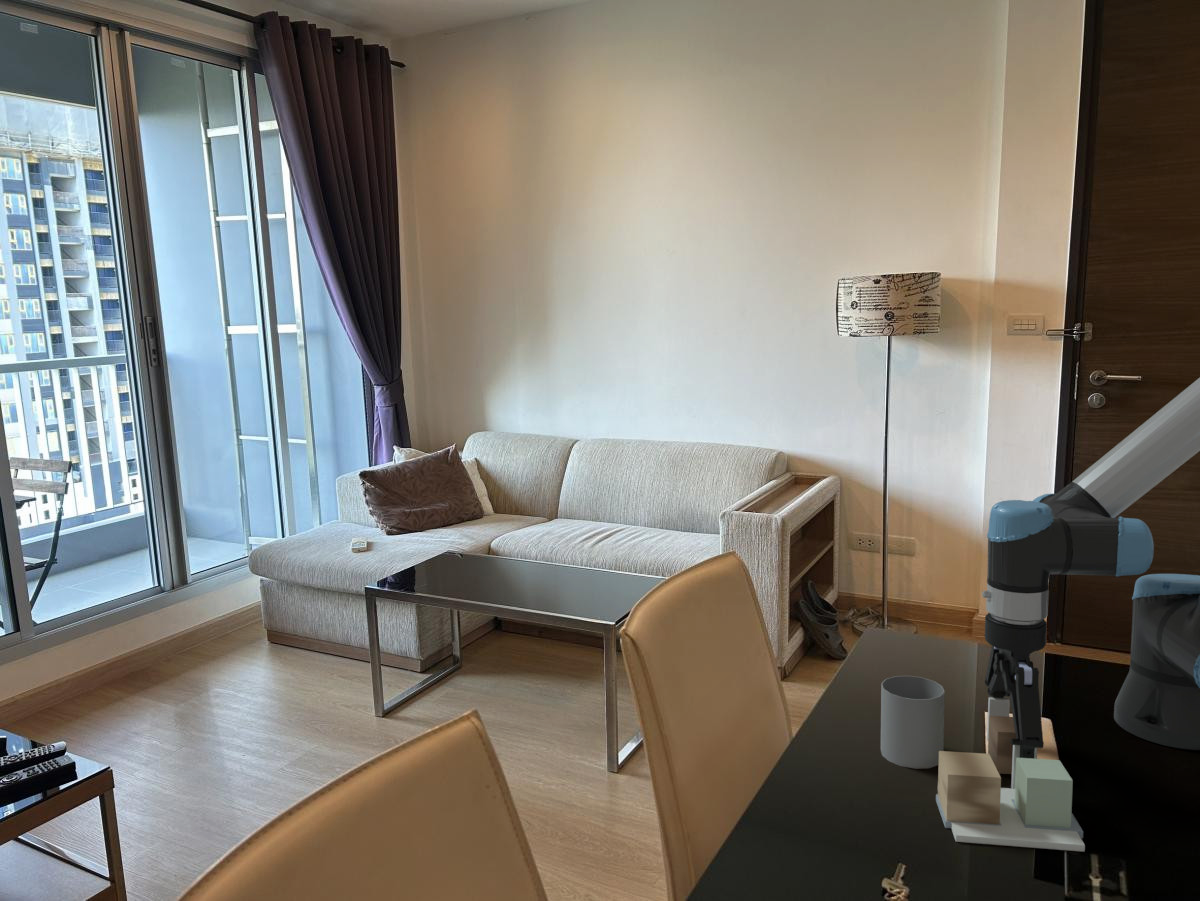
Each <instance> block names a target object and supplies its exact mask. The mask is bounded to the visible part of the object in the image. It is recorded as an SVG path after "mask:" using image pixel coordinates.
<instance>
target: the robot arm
mask: <svg viewBox="0 0 1200 901" xmlns="http://www.w3.org/2000/svg"><path fill="white" fill-rule="evenodd" d="M1199 452H1200V377H1199V378H1197V379H1196V380H1194V382H1192V383H1191V384H1190V385H1188V387H1186V388H1185V389H1183V391H1181V392H1180V393H1179V394H1178V395H1176V396H1175V397H1174V398H1173V399H1171V400H1170V401H1169V402H1168V403H1167V404H1165V405H1164V406H1162V407H1161V408H1160V409H1159V410H1158V411H1157V412H1156V413H1154V414H1153V415H1152V416H1151V417H1150V418H1148V419H1147V420H1146V421H1144V422H1143V423H1142V424H1141V425H1140V426H1138V427H1137V428H1136V429H1135V430H1133V431H1132V432H1131V433H1130V434H1129V435H1127V436H1126V437H1125V438H1124V439H1122V440H1121V441H1120V442H1119V443H1117V444H1116V445H1115V446H1114V447H1113V448H1112V449H1110V450H1109V451H1108V452H1107V453H1105V454H1104V455H1103V456H1102V457H1100V458H1099V459H1098V460H1097V461H1095V463H1093V464H1092V465H1090V466H1089V467H1088V468H1087V469H1086V470H1084V471H1083V472H1082V473H1081V474H1079V475H1078V476H1077V477H1076V478H1075V479H1074V480H1072V481H1071V482H1070V483H1068V484H1067V485H1066V486H1064V487H1063V488H1062V489H1061V490H1059V491H1058V492H1057V493H1045V494H1042V495H1039V496H1037V497H1035V498H1034V499H1033V500H1023V499H1022V500H1021V499H1008V500H1007V499H1006V500H1001V501H999V502H996V503H995V504H994V505H993V506H992V507H991V508H990V514H989V520H988V532H987V534H986V536H987V537H986V538H987V574H986V575H987V578H986V588H987V589H986V590H983V591H982V592H981V596H982V597H983V598H984V599H985V600H986V601H985V609H986V612H987V614H986V615H985V618H984V639H985V641H986V642H987V643H988V644H989V645H990V646H991V647H990V648H991V649H990V654H989V659H988V664H987V669H986V675H985V680H984V684H985V686H986V687H988V688H987V694H988V701H987V702H988V703H987V705H988V706H987V726H986V727H987V728H986V729H987V730H986V741H988V735H989V716H1004V717H1010V708H1011V714H1012V717H1013V721H1014V729H1015V736H1016V739H1012V740H1011V741H1010V743H1011V745H1013V757H1012V774H1011V784H1010V788H1011V789H1015V776H1016V758H1031V759H1038V749H1043V748H1044V747H1045V746H1044V745H1045V743H1044V738H1043V737H1044V736H1043V735H1044V734H1043V725H1042V723H1043V722H1042V713H1041V701H1040V690H1039V677H1040V676H1039V675H1040V671H1039V669H1038V667H1034V663H1033V661H1032V660H1031V658H1030V656H1031V654H1032V653H1034V652H1039V651H1041V650H1043V649H1044V648H1045V647H1046V645H1047V630H1048V629H1047V627H1048V626H1047V624H1048V622H1047V621H1046V620H1045V619H1046V618H1047V617H1048V615H1049V595H1050V582H1049V581H1050V575H1071V576H1072V575H1073V576H1075V575H1076V576H1080V575H1081V576H1112V577H1113V576H1115V577H1121V576H1134V575H1135V576H1138V575H1141V574H1144V573H1146V572H1147V571H1148V569H1150V567H1151V564H1152V563H1153V560H1154V552H1155V550H1154V548H1155V545H1154V538H1153V535H1152V531H1151V529H1150V527H1149V526H1148V525H1147V523H1146V522H1144V521H1143V520H1141V519H1139V518H1133V517H1132V518H1130V517H1123V516H1119V515H1120V514H1121V513H1122V512H1124V511H1125V510H1126V509H1128V508H1129V507H1130V506H1132V505H1133V504H1134V503H1135V502H1137V501H1138V500H1139V499H1140V498H1142V497H1143V496H1144V495H1145V494H1147V493H1148V492H1149V491H1151V490H1152V489H1153V488H1155V487H1156V486H1157V485H1159V483H1161V482H1163V480H1165V479H1166V478H1167V477H1168V476H1170V475H1171V474H1173V473H1174V472H1175V471H1176V470H1177V469H1179V467H1181V466H1182V465H1184V464H1185V463H1187V461H1189V460H1190V459H1191V458H1193V457H1194V456H1196V454H1198V453H1199ZM1117 516H1118V517H1117ZM1133 589H1134V590H1133V594H1132V597H1131V600H1132V616H1131V617H1132V618H1131V638H1130V639H1131V640H1130V641H1131V642H1130V659H1129V660H1130V663H1129V664H1130V665H1129V671H1128V673H1127V676H1126V677H1125V679H1124V682H1123V683H1122V686H1121V688H1120V690H1119V691H1118V695H1116V696H1117V697H1116V699H1115V702H1114V708H1113V710H1114V711H1113V719H1114V721H1115V722H1116V724H1117V725H1118V726H1119V727H1121V728H1122V729H1123V730H1125V731H1126V732H1128V733H1130V734H1131V735H1134V736H1135V737H1138V738H1140V739H1143V740H1146V741H1148V742H1151V743H1155V744H1158V745H1162V746H1166V747H1171V748H1174V749H1175V748H1177V749H1182V750H1190V751H1191V750H1192V751H1200V575H1198V574H1187V573H1186V574H1185V573H1182V574H1181V573H1151V574H1146V575H1142V576H1140V577H1139V578H1137V579H1136V580H1135V583H1134V588H1133ZM1010 705H1011V707H1010Z"/></svg>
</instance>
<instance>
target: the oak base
mask: <svg viewBox="0 0 1200 901" xmlns="http://www.w3.org/2000/svg"><path fill="white" fill-rule="evenodd" d="M937 774H938V776H937V778H938V779H937V794H938V797H939V800H940V803H941V805H942V808H943V811H944V814H945V817H946V820H947V821H957V822H971V823H984V824H998V825H1000V794H1001V788H1002V777H1001V774H1000V773H998V771H997V769H996V767H995V765H994V763H993V761H992V759H991V757H990V755H989V754H988V753H980V752H979V753H978V752H961V751H950V750H949V751H947V750H943V751H939V765H938V773H937Z"/></svg>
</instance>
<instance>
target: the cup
mask: <svg viewBox="0 0 1200 901" xmlns="http://www.w3.org/2000/svg"><path fill="white" fill-rule="evenodd" d="M880 686H881V689H880V691H881V692H880V698H881V699H880V753H881V756H882V757H883V758H884V759H886V760H887V761H888V762H890V763H892V764H894V765H897V766H900V767H903V768H908V769H916V770H918V769H931V768H934V767H936V766H939V751H944V745H945V744H944V740H945V739H944V736H945V735H944V732H945V696H946V694H945V693H946V692H945V690H944V687H943V685H941V684H939V683H938V682H936V681H935V680H932V679H928V678H926V677H921V676H914V675H896V676H895V675H894V676H892V677H889V678H888V677H887V678H885V679H884V680H883V681H882V682H881V685H880Z"/></svg>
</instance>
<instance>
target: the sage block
mask: <svg viewBox="0 0 1200 901" xmlns="http://www.w3.org/2000/svg"><path fill="white" fill-rule="evenodd" d="M1073 782H1074V781H1073V778H1072V777H1071V776H1070V774H1069V772H1068V771H1067V769H1066V768H1065V766H1064V765H1063V763H1062V762H1061V760H1060V759H1059V760H1058V759H1046V758H1045V759H1044V758H1037V759H1031V758H1016V776H1015V804H1016V806H1017V808H1018V811H1019V813H1020V815H1021V817H1022V819H1023V821H1024V823H1025V825H1037V826H1051V827H1064V828H1071V812H1072V810H1073V809H1072V807H1073V787H1074V786H1073V784H1074V783H1073Z"/></svg>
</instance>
